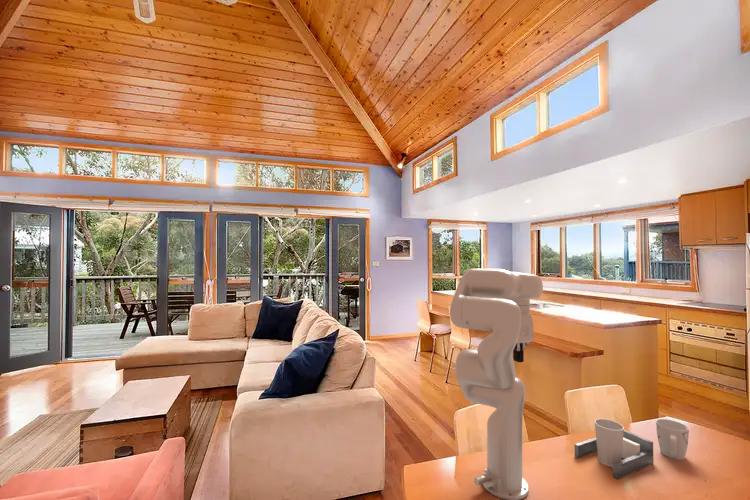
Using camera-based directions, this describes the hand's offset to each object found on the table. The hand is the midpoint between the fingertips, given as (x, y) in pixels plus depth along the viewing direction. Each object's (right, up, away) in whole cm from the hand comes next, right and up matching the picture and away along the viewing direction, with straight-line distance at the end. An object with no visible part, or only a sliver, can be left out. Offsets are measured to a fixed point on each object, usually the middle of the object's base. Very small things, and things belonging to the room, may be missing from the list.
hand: (518, 361), depth 124 cm
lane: (+26, -29, -10) cm, 41 cm away
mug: (+48, -30, -8) cm, 57 cm away
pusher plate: (+31, -29, -8) cm, 43 cm away
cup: (+25, -29, -11) cm, 40 cm away
